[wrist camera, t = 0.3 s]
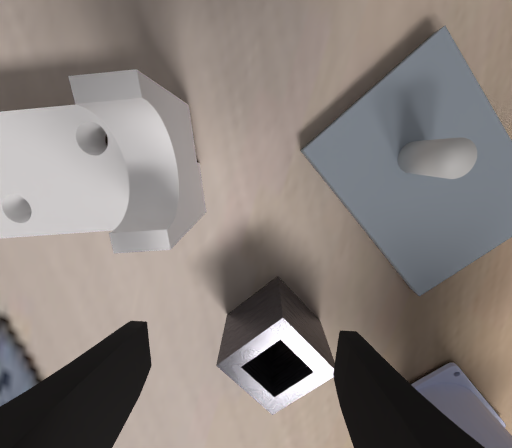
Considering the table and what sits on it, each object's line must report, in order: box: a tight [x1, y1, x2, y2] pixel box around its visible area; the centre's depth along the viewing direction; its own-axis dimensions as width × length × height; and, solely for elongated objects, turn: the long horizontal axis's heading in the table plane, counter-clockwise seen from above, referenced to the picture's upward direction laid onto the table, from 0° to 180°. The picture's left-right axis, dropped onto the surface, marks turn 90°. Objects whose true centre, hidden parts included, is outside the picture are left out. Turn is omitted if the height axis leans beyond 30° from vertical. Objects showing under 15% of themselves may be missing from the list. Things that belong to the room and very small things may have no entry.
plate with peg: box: [301, 26, 512, 296], centre depth 15 cm, size 14×10×4 cm
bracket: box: [0, 69, 206, 253], centre depth 14 cm, size 13×7×8 cm, turn 95°
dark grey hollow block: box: [216, 277, 335, 415], centre depth 18 cm, size 6×6×5 cm
